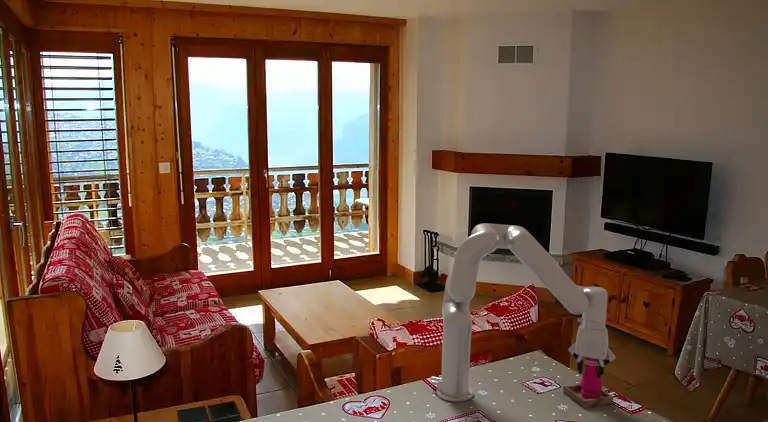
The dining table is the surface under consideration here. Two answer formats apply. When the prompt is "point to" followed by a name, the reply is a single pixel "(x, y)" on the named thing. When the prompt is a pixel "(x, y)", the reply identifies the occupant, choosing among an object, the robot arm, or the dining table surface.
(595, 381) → the magenta pepper mill
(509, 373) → the dining table surface
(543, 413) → the dining table surface
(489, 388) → the dining table surface
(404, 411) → the dining table surface
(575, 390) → the walnut tray
